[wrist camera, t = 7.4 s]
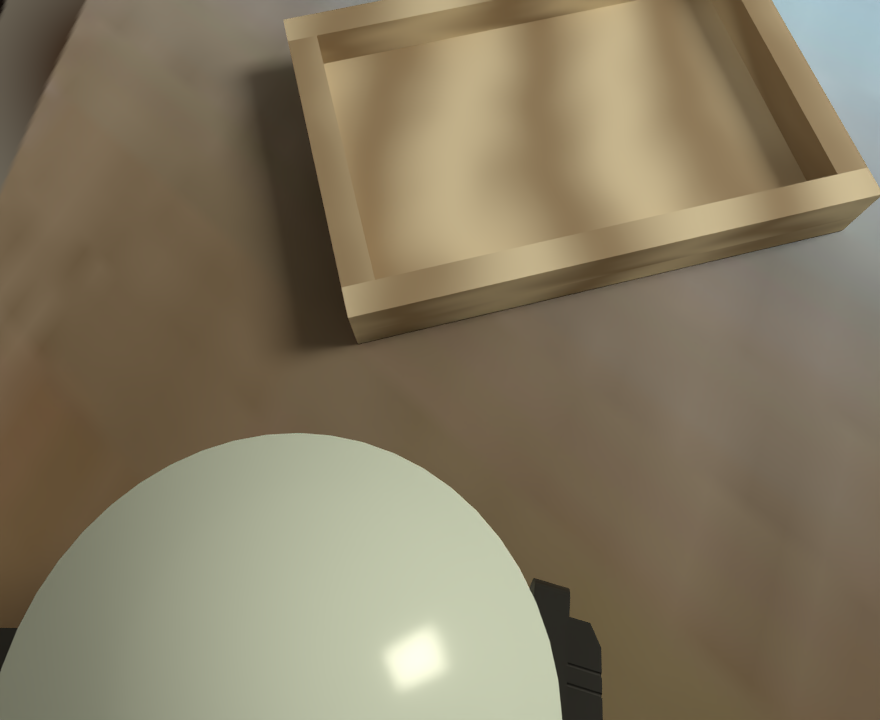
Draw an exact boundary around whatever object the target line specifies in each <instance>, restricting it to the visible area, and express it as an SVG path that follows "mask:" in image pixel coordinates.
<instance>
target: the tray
mask: <svg viewBox="0 0 880 720" xmlns="http://www.w3.org/2000/svg"><path fill="white" fill-rule="evenodd" d="M284 25H285V30H286V34H287V39H288V43H289V48H290V53H291V57H292V62H293V66H294V71H295V76H296V80H297V85H298V90H299V94H300V99H301V103H302V108H303V113H304V117H305V122H306V126H307V131H308V136H309V140H310V145H311V150H312V154H313V159H314V163H315V168H316V173H317V177H318V182H319V186H320V191H321V196H322V200H323V205H324V210H325V214H326V219H327V223H328V228H329V233H330V237H331V242H332V246H333V251H334V256H335V260H336V265H337V269H338V274H339V279H340V283H341V288H342V293H343V297H344V302H345V306H346V311H347V316H348V319H349V322H350V325H351V327H352V330H353V332H354V335H355V338H356V340H357V343H358V344H361V343H365V342H369V341H373V340H378V339H382V338H386V337H390V336H395V335H399V334H403V333H407V332H412V331H416V330H420V329H424V328H429V327H433V326H437V325H441V324H446V323H450V322H454V321H458V320H463V319H467V318H471V317H476V316H480V315H484V314H488V313H493V312H497V311H501V310H505V309H510V308H514V307H518V306H522V305H527V304H531V303H535V302H539V301H544V300H548V299H552V298H556V297H561V296H565V295H569V294H573V293H578V292H582V291H586V290H590V289H595V288H599V287H603V286H607V285H612V284H616V283H620V282H624V281H629V280H633V279H637V278H642V277H646V276H650V275H654V274H659V273H663V272H667V271H671V270H676V269H680V268H684V267H688V266H693V265H697V264H701V263H705V262H710V261H714V260H718V259H722V258H727V257H731V256H735V255H739V254H744V253H748V252H752V251H756V250H761V249H765V248H769V247H773V246H778V245H782V244H786V243H791V242H795V241H799V240H803V239H808V238H812V237H816V236H820V235H825V234H829V233H833V232H837V231H842V230H843V229H845V228H846V227H847V226H848V225H849V224H850V223H851V222H852V221H853V220H855V219H856V218H857V217H858V216H859V215H860V214H861V213H862V212H863V211H865V210H866V209H867V208H868V207H869V206H870V205H871V204H872V203H873V202H875V201H876V200H877V199H878V198H879V197H880V188H879V186H878V185H877V183H876V181H875V179H874V178H873V176H872V174H871V172H870V171H869V169H868V167H867V166H866V164H865V162H864V160H863V159H862V157H861V155H860V153H859V152H858V150H857V148H856V146H855V145H854V143H853V141H852V139H851V138H850V136H849V134H848V132H847V131H846V129H845V127H844V125H843V124H842V122H841V120H840V119H839V117H838V115H837V113H836V112H835V110H834V108H833V106H832V105H831V103H830V101H829V99H828V98H827V96H826V94H825V92H824V91H823V89H822V87H821V85H820V84H819V82H818V80H817V78H816V77H815V75H814V73H813V72H812V70H811V68H810V66H809V65H808V63H807V61H806V59H805V58H804V56H803V54H802V52H801V51H800V49H799V47H798V45H797V44H796V42H795V40H794V38H793V37H792V35H791V33H790V31H789V30H788V28H787V26H786V25H785V23H784V21H783V19H782V18H781V16H780V14H779V12H778V11H777V9H776V7H775V5H774V4H773V2H772V0H382V1H377V2H372V3H367V4H361V5H356V6H351V7H346V8H341V9H336V10H331V11H326V12H321V13H316V14H311V15H306V16H301V17H295V18H290V19H285V20H284Z"/></svg>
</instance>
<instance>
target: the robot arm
mask: <svg viewBox="0 0 880 720" xmlns="http://www.w3.org/2000/svg"><path fill="white" fill-rule="evenodd" d="M530 591H531V593H532V595H533V597H534V599H535V601H536V603H537V606H538V609H539V612H540V615H541V618H542V620H543V623H544V626H545V629H546V632H547V635H548V638H549V641H550V645H551V650H552V654H553V659H554V663H555V668H556V672H557V677H558V683H559V693H560V702H561V712H562V720H603V718H602V698H601V695H602V678H601V673H602V669H601V647H600V644H599V642H598V640H597V638H596V635H595V633H594V631H593V629H592V626H591V624H590V623H588V622H585V621H581V620H578V619H575V618H571V617H569V609H570V590H569V588H566V587H562V586H559V585H555V584H552V583H549V582H545V581H542V580H539V579H535V578H534V579H533V581H532V583H531V586H530ZM17 629H18V628H0V672H1V668H2V666H3V663H4V661H5V658H6V656H7V653H8V651H9V648H10V646H11V644H12V641H13V639H14V636H15V634H16V631H17Z"/></svg>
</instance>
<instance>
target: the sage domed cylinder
mask: <svg viewBox="0 0 880 720" xmlns="http://www.w3.org/2000/svg"><path fill="white" fill-rule="evenodd" d="M0 720H562V712H561V702H560V693H559V683H558V677H557V672H556V668H555V663H554V659H553V654H552V650H551V645H550V641H549V638H548V635H547V632H546V629H545V626H544V623H543V620H542V618H541V615H540V612H539V609H538V606H537V603H536V601H535V599H534V597H533V595H532V593H531V591H530V589H529V587H528V585H527V583H526V581H525V579H524V577H523V575H522V573H521V571H520V568H519V567H518V565H517V564H516V562H515V561H514V559H513V558H512V556H511V555H510V553H509V552H508V550H507V549H506V547H505V546H504V544H503V542H502V541H501V539H500V538H499V537H498V536H497V534H496V533H495V532H494V531H493V530H492V528H491V527H490V526H489V525H488V524H487V523H486V521H485V520H484V519H483V518H482V517H481V516H480V514H479V513H478V512H477V511H476V510H475V509H474V508H473V507H472V506H471V505H470V504H468V503H467V502H466V501H465V500H464V499H463V498H462V497H461V496H460V495H459V494H457V493H456V492H455V491H454V490H453V489H452V488H451V487H449V486H448V485H447V484H445V483H444V482H442V481H441V480H439V479H438V478H436V477H435V476H434V475H432V474H431V473H429V472H428V471H426V470H425V469H424V468H422V467H420V466H418V465H416V464H414V463H412V462H410V461H408V460H406V459H404V458H402V457H400V456H398V455H396V454H394V453H392V452H389V451H386V450H383V449H381V448H378V447H375V446H372V445H369V444H366V443H364V442H359V441H354V440H350V439H345V438H340V437H336V436H330V435H316V434H303V433H293V434H274V435H263V436H258V437H252V438H247V439H241V440H236V441H232V442H229V443H225V444H222V445H219V446H216V447H213V448H209V449H206V450H203V451H200V452H198V453H196V454H194V455H191V456H189V457H187V458H185V459H183V460H180V461H178V462H176V463H174V464H171V465H169V466H168V467H166V468H164V469H163V470H161V471H159V472H158V473H156V474H154V475H153V476H151V477H149V478H148V479H146V480H144V481H143V482H141V483H139V484H138V485H137V486H136V487H134V488H133V489H132V490H130V491H129V492H128V493H126V494H125V495H124V496H122V497H121V498H120V499H118V500H117V501H116V502H115V503H113V504H112V505H111V506H110V507H109V508H107V509H106V510H105V511H104V512H103V513H102V514H101V515H100V516H99V517H98V518H97V519H96V520H95V521H94V522H93V523H92V524H91V525H90V526H89V527H88V528H86V529H85V530H84V531H83V533H82V534H81V535H80V536H79V537H78V538H77V540H76V541H75V542H74V543H73V544H72V546H71V547H70V548H69V549H68V550H67V551H66V553H65V554H64V555H63V556H62V557H61V559H60V560H59V561H58V562H57V564H56V565H55V567H54V568H53V570H52V571H51V573H50V574H49V576H48V577H47V579H46V580H45V582H44V583H43V585H42V586H41V588H40V589H39V590H38V592H37V593H36V595H35V597H34V599H33V601H32V603H31V605H30V606H29V608H28V610H27V612H26V614H25V616H24V618H23V620H22V621H21V623H20V625H19V627H18V629H17V631H16V634H15V636H14V639H13V641H12V644H11V646H10V648H9V651H8V653H7V656H6V658H5V661H4V663H3V666H2V668H1V672H0Z"/></svg>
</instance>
